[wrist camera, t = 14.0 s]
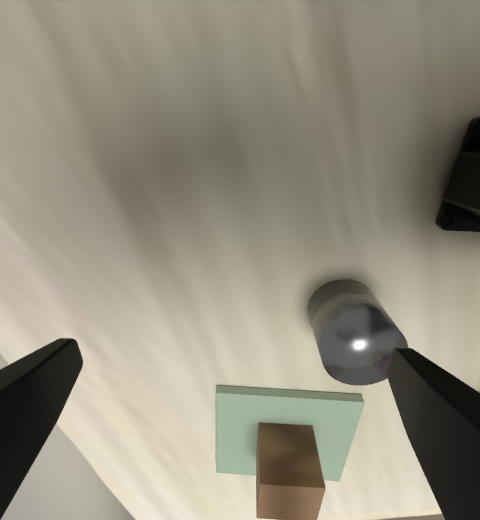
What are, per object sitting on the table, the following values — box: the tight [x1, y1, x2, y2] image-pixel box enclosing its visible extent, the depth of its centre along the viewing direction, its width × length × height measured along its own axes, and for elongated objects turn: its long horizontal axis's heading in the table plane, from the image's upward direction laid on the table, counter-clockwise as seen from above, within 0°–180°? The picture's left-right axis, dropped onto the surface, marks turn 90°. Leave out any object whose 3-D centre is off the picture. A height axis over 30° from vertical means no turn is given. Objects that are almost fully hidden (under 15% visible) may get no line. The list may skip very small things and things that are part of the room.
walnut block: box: [256, 422, 325, 520], centre depth 24 cm, size 5×5×5 cm
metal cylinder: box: [308, 280, 408, 385], centre depth 19 cm, size 5×5×5 cm
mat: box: [216, 385, 365, 481], centre depth 27 cm, size 13×12×1 cm
